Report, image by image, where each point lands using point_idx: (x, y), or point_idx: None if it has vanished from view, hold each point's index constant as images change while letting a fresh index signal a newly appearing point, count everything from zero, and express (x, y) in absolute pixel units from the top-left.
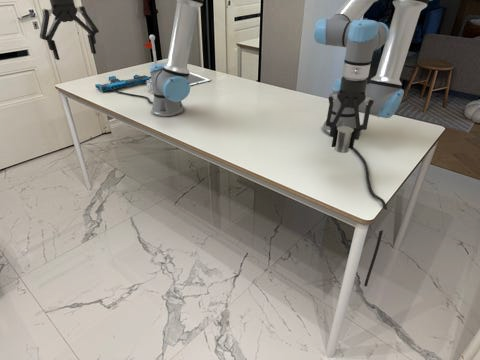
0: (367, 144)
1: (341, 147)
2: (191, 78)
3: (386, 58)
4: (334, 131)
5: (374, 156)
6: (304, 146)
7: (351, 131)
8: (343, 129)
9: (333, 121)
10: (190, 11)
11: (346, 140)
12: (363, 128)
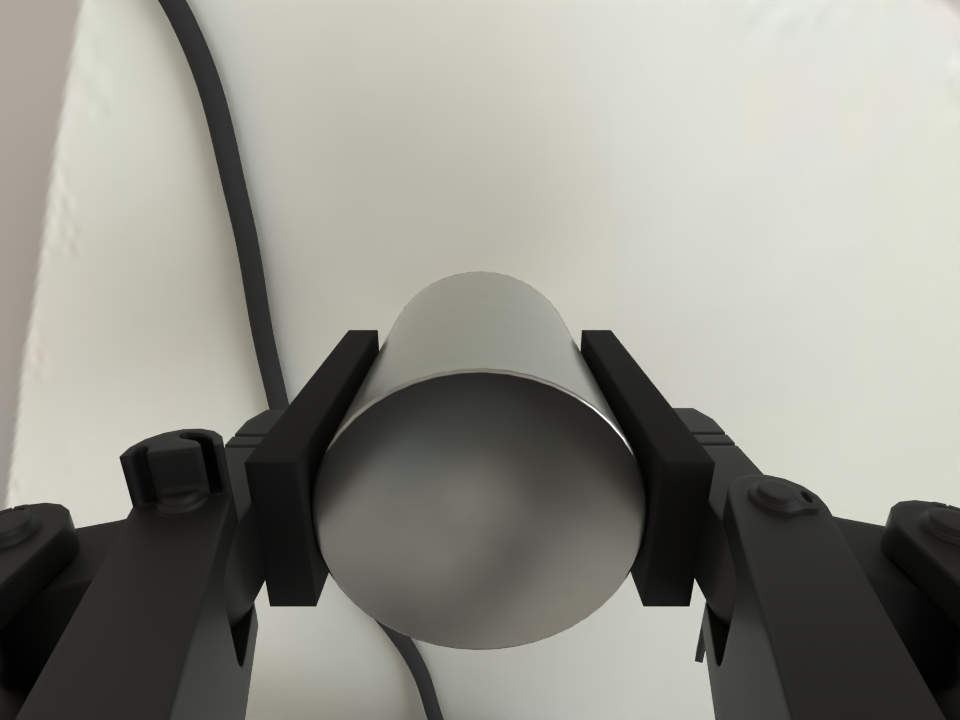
0: (308, 694)
1: (491, 288)
2: None
3: None
4: (686, 436)
5: None
6: None
7: (349, 468)
8: (515, 517)
9: (874, 621)
10: None
11: (434, 327)
12: (44, 526)
